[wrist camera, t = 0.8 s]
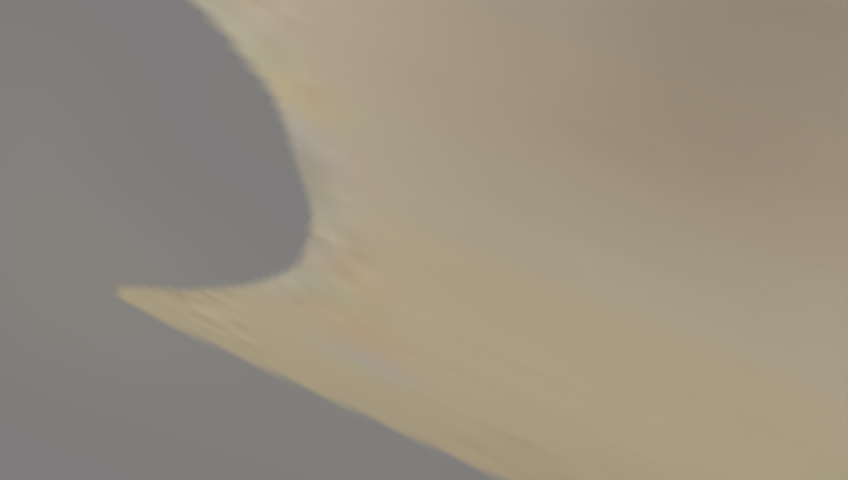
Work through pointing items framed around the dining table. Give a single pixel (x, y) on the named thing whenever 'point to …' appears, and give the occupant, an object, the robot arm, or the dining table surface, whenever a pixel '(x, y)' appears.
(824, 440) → the dining table surface
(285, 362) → the dining table surface
